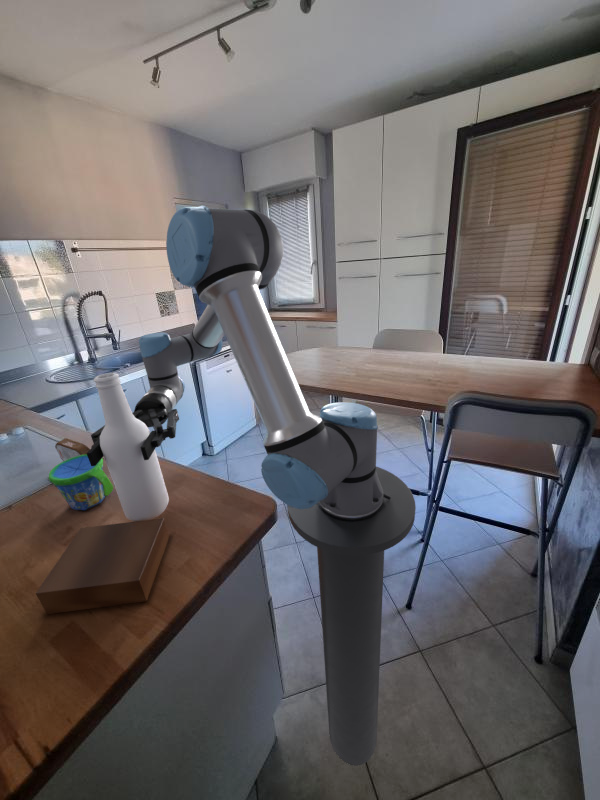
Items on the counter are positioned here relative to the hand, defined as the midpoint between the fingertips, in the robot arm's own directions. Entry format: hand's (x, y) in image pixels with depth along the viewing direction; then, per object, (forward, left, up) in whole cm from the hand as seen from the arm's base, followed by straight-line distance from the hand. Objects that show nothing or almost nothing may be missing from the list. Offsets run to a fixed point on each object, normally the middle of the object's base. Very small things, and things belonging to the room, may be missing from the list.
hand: (117, 456), depth 60 cm
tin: (+28, -31, -20) cm, 46 cm away
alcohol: (0, -4, -16) cm, 17 cm away
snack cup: (+18, -15, -20) cm, 31 cm away
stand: (+3, +7, -20) cm, 21 cm away
